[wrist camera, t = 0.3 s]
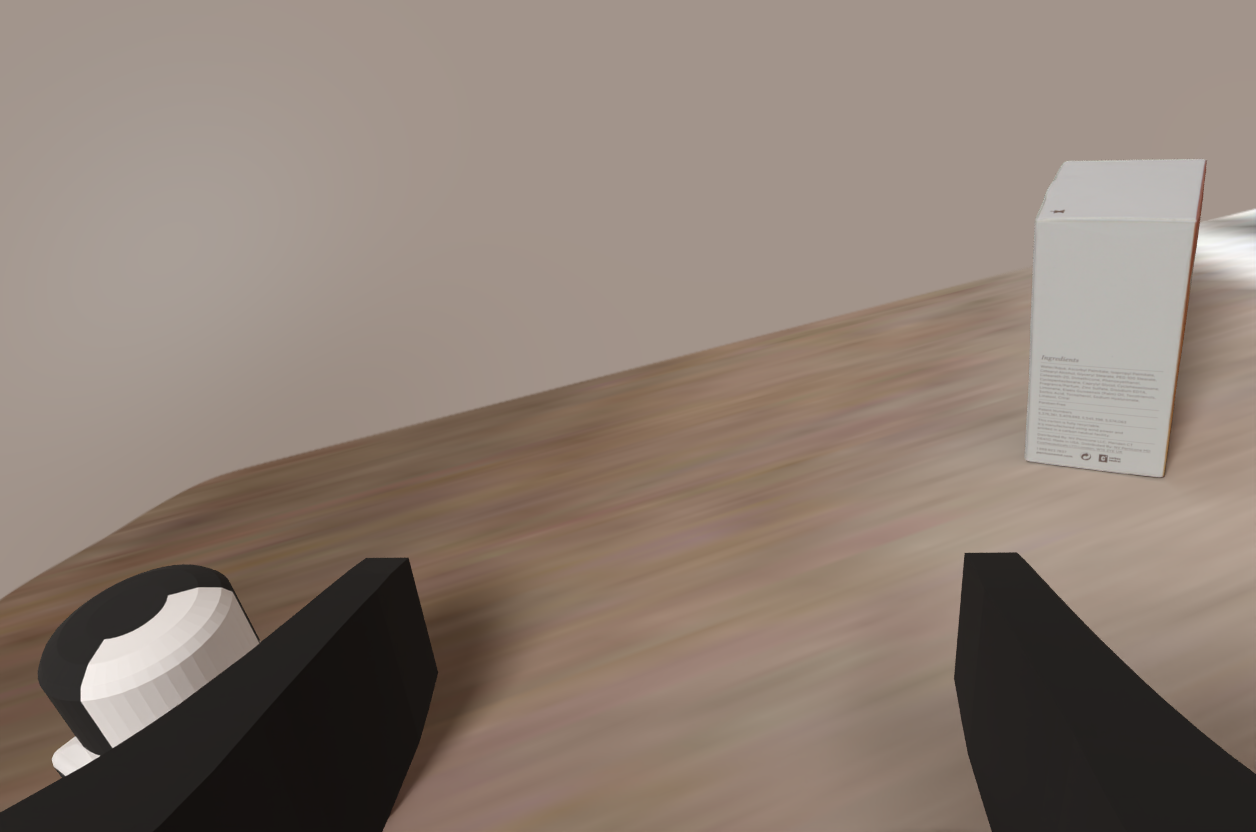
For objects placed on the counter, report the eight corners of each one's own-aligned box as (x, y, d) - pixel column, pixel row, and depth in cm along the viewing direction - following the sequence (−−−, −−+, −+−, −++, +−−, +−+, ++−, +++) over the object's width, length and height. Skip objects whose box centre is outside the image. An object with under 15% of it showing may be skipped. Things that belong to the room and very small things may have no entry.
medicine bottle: (136, 881, 35) (-33, 652, 29) (287, 742, 40) (167, 521, 34) (244, 975, 31) (73, 731, 25) (398, 808, 36) (284, 570, 30)
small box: (1165, 482, 44) (1199, 219, 38) (1022, 463, 47) (1030, 218, 41) (1177, 396, 50) (1208, 155, 43) (1048, 384, 53) (1059, 158, 46)
